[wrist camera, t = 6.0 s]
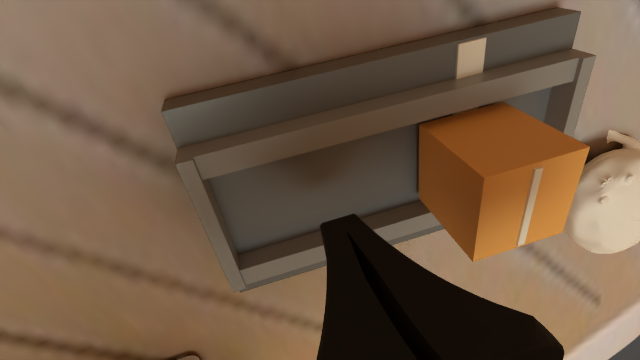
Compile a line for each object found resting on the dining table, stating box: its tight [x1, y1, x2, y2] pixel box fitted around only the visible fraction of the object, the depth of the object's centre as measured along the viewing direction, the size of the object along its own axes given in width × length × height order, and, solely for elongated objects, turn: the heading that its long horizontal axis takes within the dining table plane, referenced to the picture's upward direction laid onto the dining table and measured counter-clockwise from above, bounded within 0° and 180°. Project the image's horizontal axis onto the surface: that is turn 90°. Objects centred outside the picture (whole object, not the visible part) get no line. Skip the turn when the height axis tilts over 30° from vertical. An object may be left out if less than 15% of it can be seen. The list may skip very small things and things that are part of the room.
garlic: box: [563, 129, 640, 254], centre depth 22 cm, size 8×7×4 cm
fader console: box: [161, 8, 596, 292], centre depth 16 cm, size 17×10×2 cm, turn 98°
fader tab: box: [419, 102, 590, 262], centre depth 15 cm, size 4×4×4 cm
